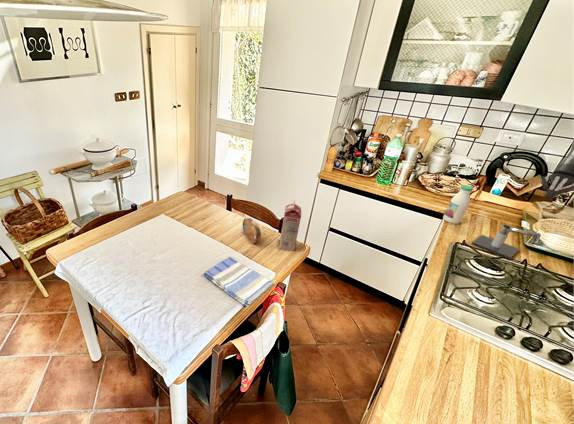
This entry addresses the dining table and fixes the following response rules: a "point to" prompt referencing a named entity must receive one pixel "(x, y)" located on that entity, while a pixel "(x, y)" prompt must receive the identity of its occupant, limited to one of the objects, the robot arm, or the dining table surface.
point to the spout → (506, 229)
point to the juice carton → (290, 227)
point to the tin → (251, 230)
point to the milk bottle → (458, 205)
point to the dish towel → (239, 281)
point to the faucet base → (498, 251)
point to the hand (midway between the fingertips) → (547, 198)
